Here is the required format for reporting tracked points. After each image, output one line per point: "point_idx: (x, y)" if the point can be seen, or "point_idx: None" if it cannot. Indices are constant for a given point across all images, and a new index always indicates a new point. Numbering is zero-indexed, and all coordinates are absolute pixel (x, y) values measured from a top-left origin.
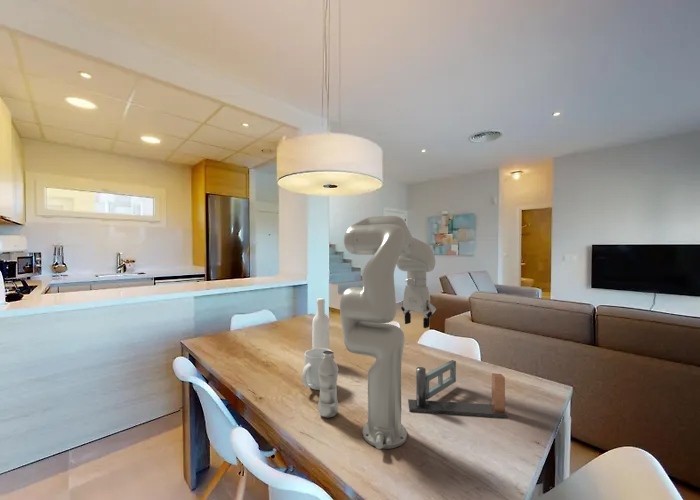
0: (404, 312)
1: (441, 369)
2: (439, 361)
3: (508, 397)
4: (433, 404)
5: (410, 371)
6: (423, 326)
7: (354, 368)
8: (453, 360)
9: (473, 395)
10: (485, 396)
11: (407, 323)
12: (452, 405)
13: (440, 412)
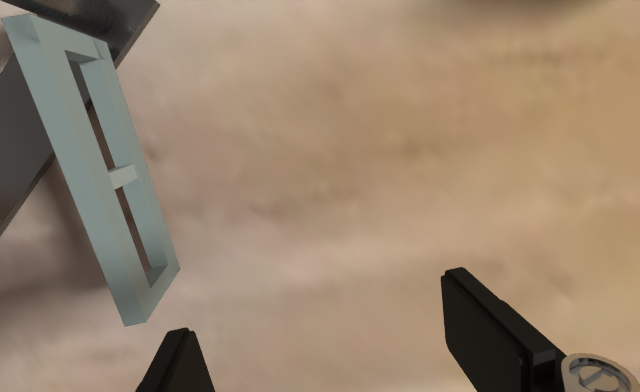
0: (605, 383)
1: (71, 184)
2: (367, 370)
3: (26, 349)
4: (71, 62)
5: (367, 215)
6: (186, 337)
7: (541, 24)
8: (136, 322)
9: (89, 265)
10: (65, 293)
11: (442, 291)
12: (32, 122)
13: None
